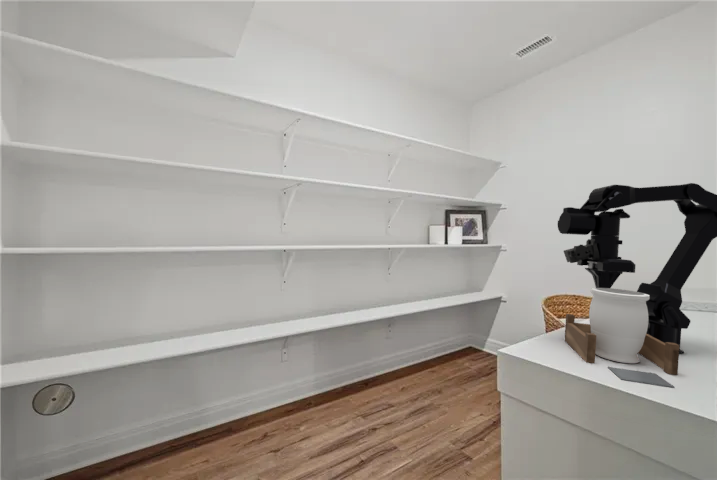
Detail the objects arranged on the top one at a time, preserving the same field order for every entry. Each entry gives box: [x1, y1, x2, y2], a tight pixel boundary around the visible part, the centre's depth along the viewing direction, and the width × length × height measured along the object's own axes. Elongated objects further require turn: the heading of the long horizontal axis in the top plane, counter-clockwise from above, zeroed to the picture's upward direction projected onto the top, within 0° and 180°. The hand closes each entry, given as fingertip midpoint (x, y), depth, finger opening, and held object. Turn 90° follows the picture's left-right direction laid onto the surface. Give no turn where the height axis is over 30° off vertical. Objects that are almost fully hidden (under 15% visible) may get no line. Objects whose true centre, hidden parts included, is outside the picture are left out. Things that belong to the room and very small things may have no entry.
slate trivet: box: [607, 366, 676, 389], centre depth 62 cm, size 8×6×1 cm
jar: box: [588, 287, 650, 364], centre depth 73 cm, size 11×10×15 cm
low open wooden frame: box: [564, 313, 680, 376], centre depth 73 cm, size 16×15×7 cm
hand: (601, 297), depth 82 cm, fingers closed
